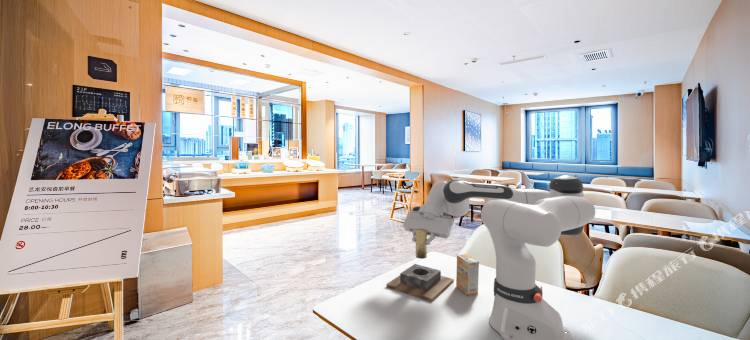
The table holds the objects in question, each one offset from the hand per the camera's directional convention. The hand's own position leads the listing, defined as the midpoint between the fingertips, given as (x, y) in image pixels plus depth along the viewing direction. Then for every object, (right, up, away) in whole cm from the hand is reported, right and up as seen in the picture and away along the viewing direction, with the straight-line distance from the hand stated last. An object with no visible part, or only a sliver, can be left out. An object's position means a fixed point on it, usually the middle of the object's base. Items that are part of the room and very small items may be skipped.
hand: (420, 242), depth 122 cm
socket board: (0, -17, +2) cm, 17 cm away
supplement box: (+18, -18, -4) cm, 25 cm away
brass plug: (0, -6, +1) cm, 6 cm away
